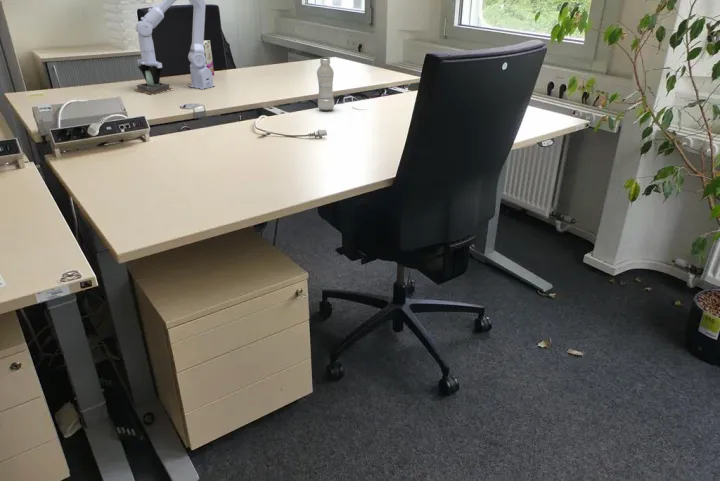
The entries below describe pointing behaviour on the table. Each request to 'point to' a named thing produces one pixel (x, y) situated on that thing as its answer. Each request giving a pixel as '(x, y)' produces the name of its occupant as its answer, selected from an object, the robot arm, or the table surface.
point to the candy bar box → (208, 55)
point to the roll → (150, 79)
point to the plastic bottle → (325, 85)
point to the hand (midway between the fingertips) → (152, 82)
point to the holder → (152, 88)
